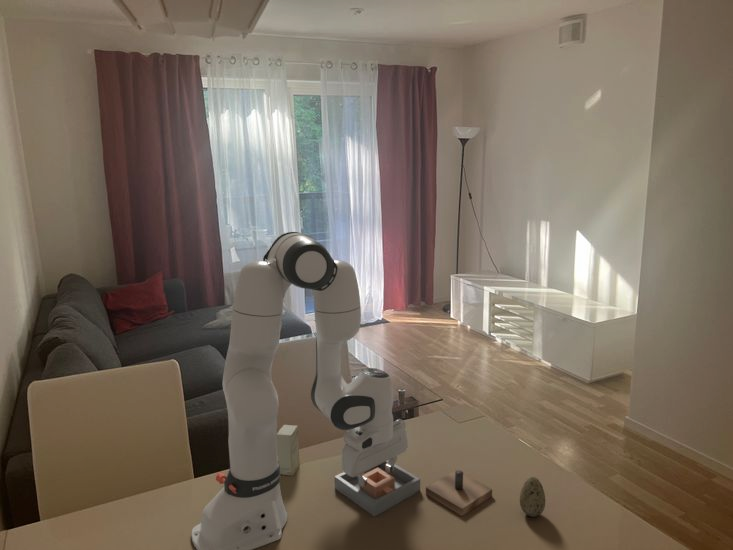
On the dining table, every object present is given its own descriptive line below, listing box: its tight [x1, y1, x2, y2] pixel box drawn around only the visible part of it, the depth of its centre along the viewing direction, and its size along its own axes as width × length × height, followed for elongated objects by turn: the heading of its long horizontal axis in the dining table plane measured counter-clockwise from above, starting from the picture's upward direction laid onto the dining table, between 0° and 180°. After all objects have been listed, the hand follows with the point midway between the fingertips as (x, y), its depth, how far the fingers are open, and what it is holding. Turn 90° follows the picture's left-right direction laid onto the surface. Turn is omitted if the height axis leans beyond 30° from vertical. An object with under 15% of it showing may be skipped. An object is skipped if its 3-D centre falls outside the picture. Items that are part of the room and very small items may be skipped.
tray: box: [334, 460, 421, 518], centre depth 142 cm, size 16×16×4 cm
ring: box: [359, 468, 395, 498], centre depth 142 cm, size 7×9×3 cm
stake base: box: [425, 469, 493, 517], centre depth 139 cm, size 12×12×6 cm
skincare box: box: [276, 424, 301, 476], centre depth 152 cm, size 6×4×12 cm
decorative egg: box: [519, 476, 546, 518], centre depth 131 cm, size 6×6×10 cm
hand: (376, 477), depth 142 cm, fingers open, 8 cm apart
